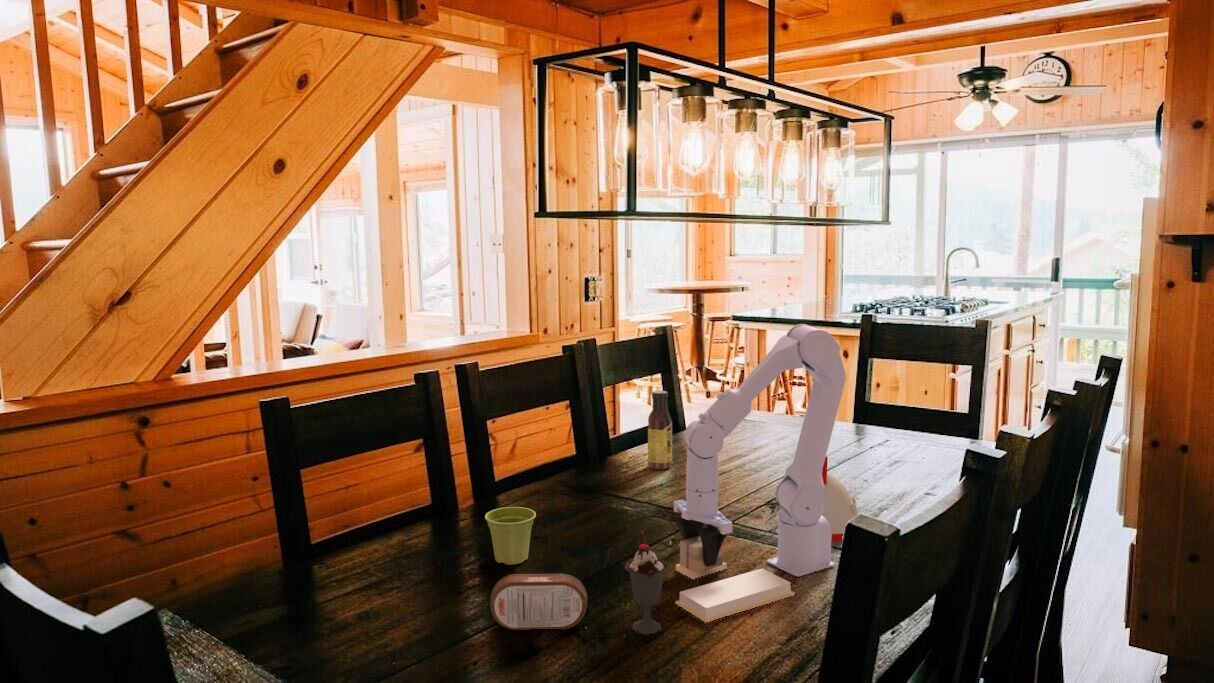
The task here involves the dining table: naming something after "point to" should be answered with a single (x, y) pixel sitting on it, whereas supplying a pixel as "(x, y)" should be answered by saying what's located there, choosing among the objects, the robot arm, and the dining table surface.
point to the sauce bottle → (659, 433)
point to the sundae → (646, 584)
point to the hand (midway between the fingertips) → (701, 560)
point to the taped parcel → (697, 559)
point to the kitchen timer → (837, 504)
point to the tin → (538, 601)
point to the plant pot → (510, 533)
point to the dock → (734, 594)
